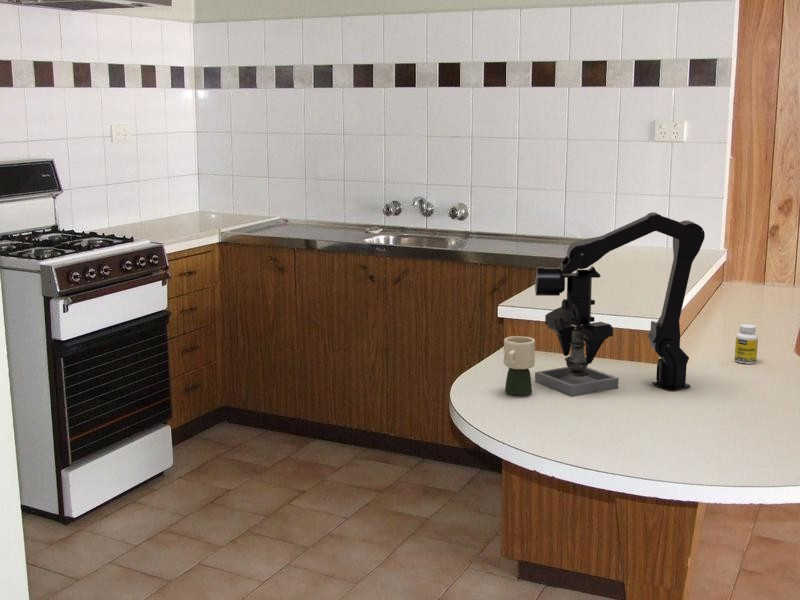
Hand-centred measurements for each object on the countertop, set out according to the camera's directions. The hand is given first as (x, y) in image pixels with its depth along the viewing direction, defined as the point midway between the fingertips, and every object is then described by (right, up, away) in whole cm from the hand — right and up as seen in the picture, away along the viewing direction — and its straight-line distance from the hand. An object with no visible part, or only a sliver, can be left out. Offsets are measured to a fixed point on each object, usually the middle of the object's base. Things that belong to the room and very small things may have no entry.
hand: (577, 359), depth 223 cm
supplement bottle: (+48, -2, +21) cm, 52 cm away
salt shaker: (0, -4, +1) cm, 4 cm away
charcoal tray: (0, -6, +1) cm, 6 cm away
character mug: (-15, -8, -5) cm, 18 cm away
